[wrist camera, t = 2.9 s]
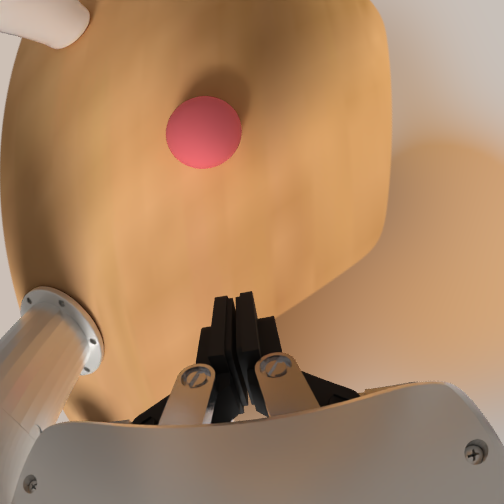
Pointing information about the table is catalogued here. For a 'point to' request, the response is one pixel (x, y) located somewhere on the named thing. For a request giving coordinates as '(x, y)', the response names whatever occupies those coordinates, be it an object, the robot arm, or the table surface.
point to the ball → (203, 132)
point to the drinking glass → (44, 20)
